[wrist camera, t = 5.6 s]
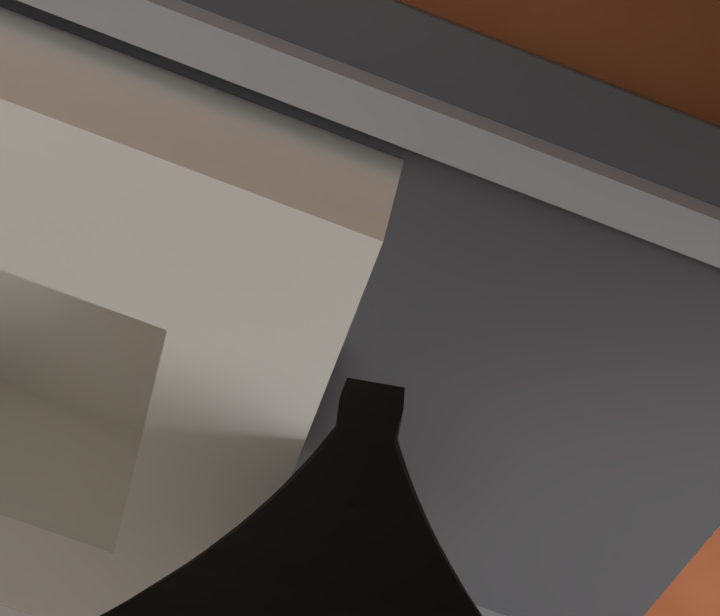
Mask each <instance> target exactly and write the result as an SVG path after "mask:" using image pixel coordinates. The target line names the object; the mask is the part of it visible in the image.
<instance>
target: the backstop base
mask: <svg viewBox="0 0 720 616" xmlns="http://www.w3.org/2000/svg"><path fill="white" fill-rule="evenodd" d="M0 7H2V8H5V9H7V10H10V11H13V12H15V13H18V14H21V15H23V16H26V17H28V18H31V19H34V20H36V21H39V22H42V23H44V24H47V25H50V26H52V27H55V28H57V29H60V30H63V31H65V32H68V33H71V34H73V35H76V36H78V37H81V38H84V39H86V40H89V41H92V42H94V43H97V44H100V45H102V46H105V47H107V48H110V49H113V50H115V51H118V52H121V53H123V54H126V55H128V56H131V57H134V58H136V59H139V60H142V61H144V62H147V63H150V64H152V65H155V66H157V67H160V68H163V69H165V70H168V71H171V72H173V73H176V74H178V75H181V76H184V77H186V78H189V79H192V80H194V81H197V82H200V83H202V84H205V85H207V86H210V87H213V88H215V89H218V90H221V91H223V92H226V93H228V94H231V95H234V96H236V97H239V98H242V99H244V100H247V101H250V102H252V103H255V104H257V105H260V106H263V107H265V108H268V109H271V110H273V111H276V112H278V113H281V114H284V115H286V116H289V117H292V118H294V119H297V120H300V121H302V122H305V123H307V124H310V125H313V126H315V127H318V128H321V129H323V130H326V131H328V132H331V133H334V134H336V135H339V136H342V137H344V138H347V139H350V140H352V141H355V142H357V143H360V144H363V145H365V146H368V147H371V148H373V149H376V150H378V151H381V152H384V153H386V154H389V155H392V156H394V157H397V158H400V159H402V160H404V163H403V167H402V171H401V174H400V178H399V182H398V186H397V190H396V194H395V198H394V202H393V206H392V210H391V214H390V217H389V221H388V225H387V229H386V233H385V237H384V241H383V244H382V246H381V249H380V251H379V254H378V257H377V259H376V262H375V264H374V267H373V269H372V272H371V274H370V277H369V279H368V282H367V285H366V287H365V290H364V292H363V295H362V297H361V300H360V302H359V305H358V308H357V310H356V313H355V315H354V318H353V320H352V323H351V325H350V328H349V330H348V333H347V336H346V338H345V341H344V343H343V346H342V348H341V351H340V353H339V356H338V359H337V361H336V364H335V366H334V369H333V371H332V374H331V376H330V379H329V381H328V384H327V387H326V389H325V392H324V394H323V397H322V399H321V402H320V404H319V407H318V410H317V412H316V415H315V417H314V420H313V422H312V425H311V427H310V430H309V432H308V435H307V438H306V440H305V443H304V445H303V448H302V450H301V453H300V455H299V458H298V461H297V463H296V466H295V468H294V471H293V473H292V475H293V474H294V473H295V472H296V471H297V470H298V469H299V468H300V467H301V466H302V465H303V463H304V462H305V461H306V460H307V459H308V458H309V457H310V456H311V455H312V454H313V453H314V451H315V450H316V449H317V448H318V447H319V445H320V444H321V443H322V442H323V441H324V439H325V438H326V437H327V436H328V434H329V433H330V432H331V431H332V429H333V428H334V427H335V426H336V420H337V413H338V405H339V399H340V396H341V393H342V390H343V387H344V384H345V381H346V379H347V377H348V378H353V379H359V380H365V381H370V382H376V383H382V384H387V385H393V386H399V387H405V394H404V408H403V415H402V420H401V425H400V431H399V436H398V442H399V446H400V449H401V452H402V455H403V458H404V461H405V464H406V467H407V470H408V473H409V476H410V478H411V481H412V483H413V486H414V489H415V491H416V494H417V496H418V498H419V501H420V503H421V505H422V508H423V510H424V512H425V515H426V517H427V519H428V521H429V523H430V525H431V528H432V530H433V532H434V534H435V536H436V538H437V540H438V542H439V544H440V545H441V547H442V549H443V551H444V553H445V555H446V557H447V558H448V560H449V562H450V564H451V566H452V568H453V569H454V571H455V573H456V574H457V576H458V578H459V579H460V581H461V583H462V585H463V586H464V588H465V590H466V591H467V593H468V595H469V596H470V598H471V599H472V601H473V602H474V604H475V605H476V607H477V608H478V610H479V611H480V613H481V614H482V616H644V614H645V613H646V612H647V611H648V610H649V608H650V607H651V606H652V605H653V604H654V603H655V601H656V600H657V599H658V598H659V597H660V595H661V594H662V593H663V592H664V591H665V589H666V588H667V587H668V586H669V585H670V584H671V582H672V581H673V580H674V579H675V578H676V576H677V575H678V574H679V573H680V572H681V571H682V569H683V568H684V567H685V566H686V565H687V563H688V562H689V561H690V560H691V559H692V557H693V556H694V555H695V554H696V553H697V552H698V550H699V549H700V548H701V547H702V546H703V544H704V543H705V542H706V541H707V540H708V538H709V537H710V536H711V535H712V534H713V533H714V531H715V530H716V529H717V528H718V527H719V525H720V127H719V126H717V125H714V124H711V123H709V122H706V121H704V120H701V119H699V118H696V117H694V116H691V115H688V114H686V113H683V112H681V111H678V110H676V109H673V108H671V107H668V106H665V105H663V104H660V103H658V102H655V101H653V100H650V99H648V98H645V97H642V96H640V95H637V94H635V93H632V92H630V91H627V90H625V89H622V88H619V87H617V86H614V85H612V84H609V83H607V82H604V81H602V80H599V79H596V78H594V77H591V76H589V75H586V74H584V73H581V72H579V71H576V70H573V69H571V68H568V67H566V66H563V65H561V64H558V63H556V62H553V61H550V60H548V59H545V58H543V57H540V56H538V55H535V54H532V53H530V52H527V51H525V50H522V49H520V48H517V47H515V46H512V45H509V44H507V43H504V42H502V41H499V40H497V39H494V38H492V37H489V36H486V35H484V34H481V33H479V32H476V31H474V30H471V29H469V28H466V27H463V26H461V25H458V24H456V23H453V22H451V21H448V20H446V19H443V18H440V17H438V16H435V15H433V14H430V13H428V12H425V11H423V10H420V9H417V8H415V7H412V6H410V5H407V4H405V3H402V2H400V1H397V0H0Z"/></svg>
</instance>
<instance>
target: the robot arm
mask: <svg viewBox="0 0 720 616" xmlns="http://www.w3.org/2000/svg"><path fill="white" fill-rule="evenodd" d="M404 394H405V387H399V386H393V385H387V384H382V383H376V382H370V381H365V380H359V379H353V378H348V377H347V379H346V381H345V384H344V387H343V390H342V393H341V396H340V399H339V405H338V413H337V420H336V426H335V427H334V428H333V429H332V431H331V432H330V433H329V434H328V436H327V437H326V438H325V439H324V441H323V442H322V443H321V444H320V445H319V447H318V448H317V449H316V450H315V451H314V453H313V454H312V455H311V456H310V457H309V458H308V459H307V460H306V461H305V462H304V463H303V465H302V466H301V467H300V468H299V469H298V470H297V471H296V472H295V473H294V474H293V475H292V476H291V477H290V478H289V479H288V480H287V481H286V482H285V483H284V484H283V485H282V486H281V487H280V488H279V489H278V490H277V491H276V492H275V493H274V494H273V495H272V496H271V497H270V498H269V499H268V500H266V501H265V502H264V503H263V504H262V505H261V506H260V507H259V508H257V509H256V510H255V511H254V512H253V513H252V514H250V515H249V516H248V517H247V518H246V519H245V520H243V521H242V522H241V523H240V524H239V525H237V526H236V527H235V528H233V529H232V530H231V531H229V532H228V533H227V534H226V535H224V536H223V537H222V538H220V539H219V540H218V541H216V542H215V543H214V544H213V545H211V546H210V547H209V548H207V549H206V550H204V551H203V552H202V553H200V554H199V555H197V556H196V557H195V558H193V559H192V560H190V561H189V562H187V563H186V564H185V565H183V566H181V567H180V568H178V569H177V570H175V571H173V572H172V573H170V574H169V575H167V576H165V577H164V578H162V579H161V580H159V581H157V582H156V583H154V584H153V585H151V586H149V587H148V588H146V589H145V590H143V591H142V592H140V593H138V594H137V595H135V596H134V597H132V598H130V599H129V600H127V601H125V602H123V603H122V604H120V605H118V606H116V607H115V608H113V609H111V610H109V611H107V612H105V613H104V614H102V615H100V616H482V614H481V613H480V611H479V610H478V608H477V607H476V605H475V604H474V602H473V601H472V599H471V598H470V596H469V595H468V593H467V591H466V590H465V588H464V586H463V585H462V583H461V581H460V579H459V578H458V576H457V574H456V573H455V571H454V569H453V568H452V566H451V564H450V562H449V560H448V558H447V557H446V555H445V553H444V551H443V549H442V547H441V545H440V544H439V542H438V540H437V538H436V536H435V534H434V532H433V530H432V528H431V525H430V523H429V521H428V519H427V517H426V515H425V512H424V510H423V508H422V505H421V503H420V501H419V498H418V496H417V494H416V491H415V489H414V486H413V483H412V481H411V478H410V476H409V473H408V470H407V467H406V464H405V461H404V458H403V455H402V452H401V449H400V446H399V442H398V436H399V431H400V425H401V420H402V415H403V408H404Z"/></svg>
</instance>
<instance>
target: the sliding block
mask: <svg viewBox="0 0 720 616" xmlns="http://www.w3.org/2000/svg"><path fill="white" fill-rule="evenodd" d="M403 163H404V160H402V159H400V158H397V157H394V156H392V155H389V154H386V153H384V152H381V151H378V150H376V149H373V148H371V147H368V146H365V145H363V144H360V143H357V142H355V141H352V140H350V139H347V138H344V137H342V136H339V135H336V134H334V133H331V132H328V131H326V130H323V129H321V128H318V127H315V126H313V125H310V124H307V123H305V122H302V121H300V120H297V119H294V118H292V117H289V116H286V115H284V114H281V113H278V112H276V111H273V110H271V109H268V108H265V107H263V106H260V105H257V104H255V103H252V102H250V101H247V100H244V99H242V98H239V97H236V96H234V95H231V94H228V93H226V92H223V91H221V90H218V89H215V88H213V87H210V86H207V85H205V84H202V83H200V82H197V81H194V80H192V79H189V78H186V77H184V76H181V75H178V74H176V73H173V72H171V71H168V70H165V69H163V68H160V67H157V66H155V65H152V64H150V63H147V62H144V61H142V60H139V59H136V58H134V57H131V56H128V55H126V54H123V53H121V52H118V51H115V50H113V49H110V48H107V47H105V46H102V45H100V44H97V43H94V42H92V41H89V40H86V39H84V38H81V37H78V36H76V35H73V34H71V33H68V32H65V31H63V30H60V29H57V28H55V27H52V26H50V25H47V24H44V23H42V22H39V21H36V20H34V19H31V18H28V17H26V16H23V15H21V14H18V13H15V12H13V11H10V10H7V9H5V8H2V7H0V604H1V605H4V606H7V607H9V608H12V609H15V610H18V611H21V612H24V613H27V614H30V615H33V616H100V615H102V614H104V613H105V612H107V611H109V610H111V609H113V608H115V607H116V606H118V605H120V604H122V603H123V602H125V601H127V600H129V599H130V598H132V597H134V596H135V595H137V594H138V593H140V592H142V591H143V590H145V589H146V588H148V587H149V586H151V585H153V584H154V583H156V582H157V581H159V580H161V579H162V578H164V577H165V576H167V575H169V574H170V573H172V572H173V571H175V570H177V569H178V568H180V567H181V566H183V565H185V564H186V563H187V562H189V561H190V560H192V559H193V558H195V557H196V556H197V555H199V554H200V553H202V552H203V551H204V550H206V549H207V548H209V547H210V546H211V545H213V544H214V543H215V542H216V541H218V540H219V539H220V538H222V537H223V536H224V535H226V534H227V533H228V532H229V531H231V530H232V529H233V528H235V527H236V526H237V525H239V524H240V523H241V522H242V521H243V520H245V519H246V518H247V517H248V516H249V515H250V514H252V513H253V512H254V511H255V510H256V509H257V508H259V507H260V506H261V505H262V504H263V503H264V502H265V501H266V500H268V499H269V498H270V497H271V496H272V495H273V494H274V493H275V492H276V491H277V490H278V489H279V488H280V487H281V486H282V485H283V484H284V483H285V482H286V481H287V480H288V479H289V478H290V477H291V476H292V473H293V471H294V468H295V466H296V463H297V461H298V458H299V455H300V453H301V450H302V448H303V445H304V443H305V440H306V438H307V435H308V432H309V430H310V427H311V425H312V422H313V420H314V417H315V415H316V412H317V410H318V407H319V404H320V402H321V399H322V397H323V394H324V392H325V389H326V387H327V384H328V381H329V379H330V376H331V374H332V371H333V369H334V366H335V364H336V361H337V359H338V356H339V353H340V351H341V348H342V346H343V343H344V341H345V338H346V336H347V333H348V330H349V328H350V325H351V323H352V320H353V318H354V315H355V313H356V310H357V308H358V305H359V302H360V300H361V297H362V295H363V292H364V290H365V287H366V285H367V282H368V279H369V277H370V274H371V272H372V269H373V267H374V264H375V262H376V259H377V257H378V254H379V251H380V249H381V246H382V244H383V241H384V237H385V233H386V229H387V225H388V221H389V217H390V214H391V210H392V206H393V202H394V198H395V194H396V190H397V186H398V182H399V178H400V174H401V171H402V167H403Z"/></svg>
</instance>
